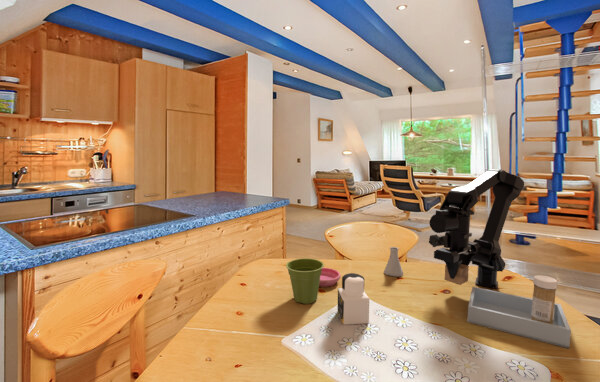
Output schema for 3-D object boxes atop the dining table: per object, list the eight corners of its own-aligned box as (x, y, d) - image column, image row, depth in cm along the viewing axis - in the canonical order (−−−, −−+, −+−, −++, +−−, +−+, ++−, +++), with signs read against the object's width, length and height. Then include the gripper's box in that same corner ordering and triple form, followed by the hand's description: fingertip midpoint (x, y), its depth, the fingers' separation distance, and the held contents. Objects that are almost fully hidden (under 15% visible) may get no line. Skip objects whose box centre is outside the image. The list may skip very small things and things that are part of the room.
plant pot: (304, 287, 102) (304, 255, 101) (331, 298, 94) (331, 264, 93) (278, 298, 94) (277, 264, 93) (305, 312, 86) (305, 274, 84)
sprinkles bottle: (556, 331, 75) (561, 279, 73) (546, 336, 73) (551, 283, 71) (535, 322, 79) (539, 273, 77) (525, 326, 77) (529, 276, 75)
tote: (471, 300, 92) (472, 286, 92) (559, 320, 81) (560, 304, 81) (467, 321, 80) (468, 306, 80) (569, 348, 69) (571, 330, 68)
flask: (404, 277, 110) (405, 251, 109) (384, 276, 112) (384, 250, 110) (402, 270, 117) (402, 245, 116) (382, 269, 119) (383, 244, 118)
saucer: (313, 273, 116) (313, 265, 115) (344, 278, 111) (344, 269, 110) (300, 285, 104) (300, 276, 104) (334, 291, 99) (334, 282, 99)
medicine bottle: (337, 311, 86) (337, 271, 85) (361, 310, 87) (362, 270, 85) (342, 325, 79) (343, 281, 78) (369, 323, 80) (370, 280, 78)
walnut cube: (452, 276, 100) (453, 261, 100) (467, 281, 96) (468, 266, 96) (444, 279, 97) (445, 265, 97) (460, 285, 93) (461, 269, 93)
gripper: (448, 221, 107) (446, 263, 108) (419, 228, 96) (417, 275, 98) (482, 227, 98) (479, 272, 100) (453, 235, 87) (451, 287, 89)
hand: (456, 276), depth 97 cm, fingers closed on walnut cube, 5 cm apart
